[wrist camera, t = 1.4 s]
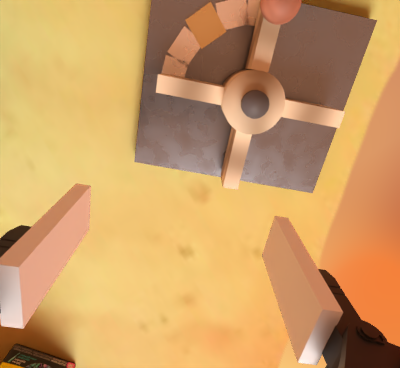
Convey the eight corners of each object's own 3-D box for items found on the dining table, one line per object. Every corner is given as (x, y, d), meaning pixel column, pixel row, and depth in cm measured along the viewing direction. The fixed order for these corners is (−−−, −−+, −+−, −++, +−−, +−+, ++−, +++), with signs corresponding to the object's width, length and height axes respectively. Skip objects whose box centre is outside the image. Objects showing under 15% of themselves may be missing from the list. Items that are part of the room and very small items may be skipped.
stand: (137, 158, 35) (134, 162, 33) (157, -26, 28) (154, -32, 26) (308, 188, 37) (313, 194, 35) (368, 22, 29) (378, 19, 28)
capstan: (151, 161, 33) (140, 184, 27) (176, -28, 26) (168, -59, 20) (299, 187, 35) (322, 215, 28) (359, 14, 28) (409, -2, 21)
